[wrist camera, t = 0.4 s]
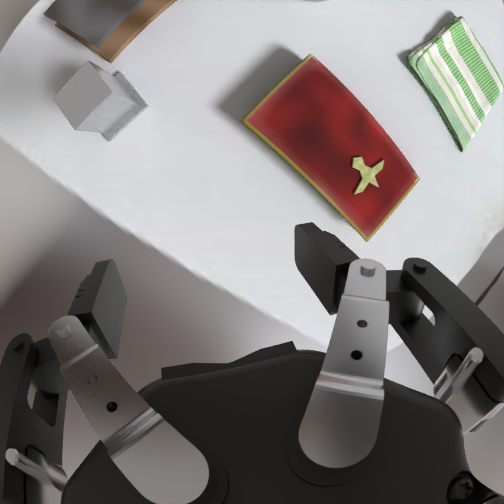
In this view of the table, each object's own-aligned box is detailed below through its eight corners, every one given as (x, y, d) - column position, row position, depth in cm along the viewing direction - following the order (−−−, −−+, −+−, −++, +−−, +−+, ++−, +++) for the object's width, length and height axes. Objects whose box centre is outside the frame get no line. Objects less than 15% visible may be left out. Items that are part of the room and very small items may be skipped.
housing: (120, 71, 25) (89, 49, 17) (149, 106, 28) (122, 91, 19) (84, 106, 26) (44, 97, 18) (110, 141, 29) (73, 140, 20)
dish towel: (398, 61, 28) (409, 57, 25) (452, 14, 24) (461, 11, 21) (458, 152, 34) (469, 153, 31) (499, 89, 29) (508, 88, 26)
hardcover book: (303, 61, 28) (313, 50, 24) (405, 173, 34) (422, 177, 30) (239, 124, 30) (241, 120, 26) (354, 233, 37) (368, 242, 33)
